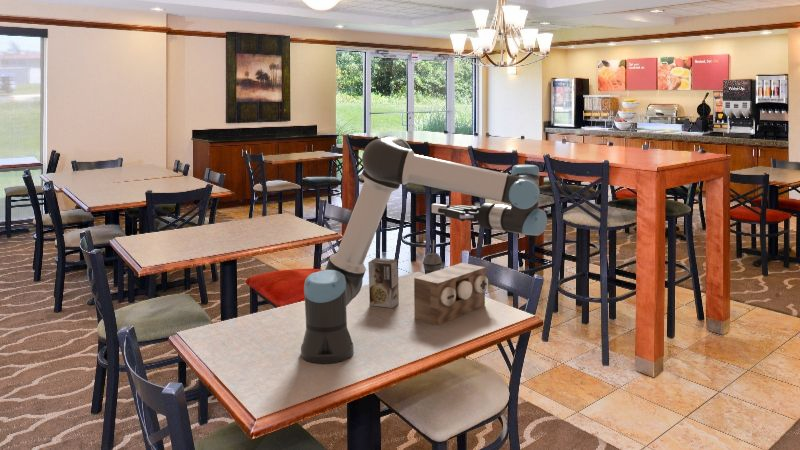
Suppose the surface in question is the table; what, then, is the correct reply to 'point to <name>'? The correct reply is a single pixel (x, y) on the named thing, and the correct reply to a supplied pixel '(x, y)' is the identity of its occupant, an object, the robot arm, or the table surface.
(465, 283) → the plain button
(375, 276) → the coffee box
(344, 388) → the table surface
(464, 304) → the walnut console
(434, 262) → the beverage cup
